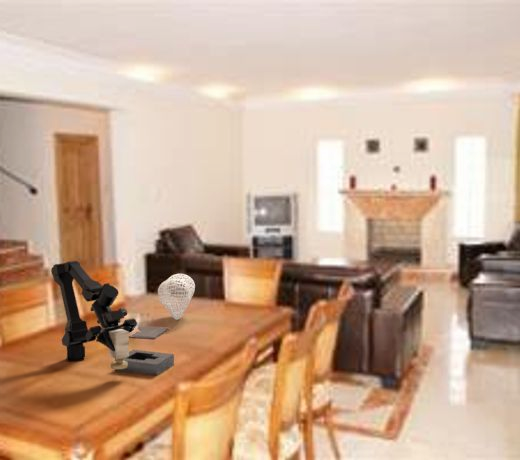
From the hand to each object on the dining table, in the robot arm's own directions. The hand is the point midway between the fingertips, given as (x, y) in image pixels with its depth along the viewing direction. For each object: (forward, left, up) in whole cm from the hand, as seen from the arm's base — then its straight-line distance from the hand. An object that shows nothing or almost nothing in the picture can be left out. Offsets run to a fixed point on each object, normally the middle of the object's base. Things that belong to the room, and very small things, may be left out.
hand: (121, 349), depth 211 cm
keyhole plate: (+10, +11, -11) cm, 18 cm away
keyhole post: (-1, +1, -7) cm, 7 cm away
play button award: (+14, +61, -12) cm, 64 cm away
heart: (+34, +80, -12) cm, 88 cm away
